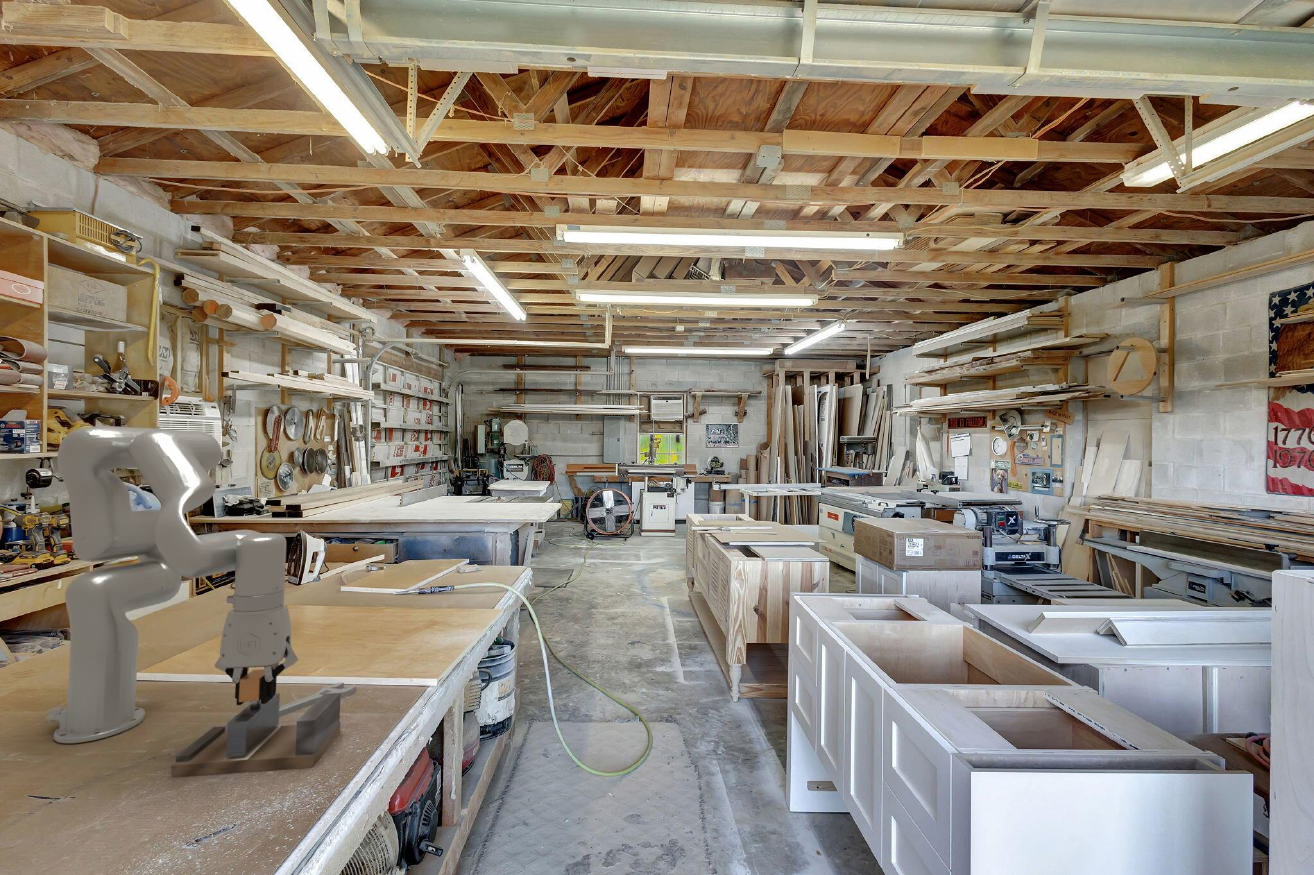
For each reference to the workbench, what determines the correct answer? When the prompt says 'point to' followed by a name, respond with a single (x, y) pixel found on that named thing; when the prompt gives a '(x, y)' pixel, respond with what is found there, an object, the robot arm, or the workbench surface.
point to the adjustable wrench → (315, 698)
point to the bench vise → (266, 745)
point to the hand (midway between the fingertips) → (255, 700)
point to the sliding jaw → (251, 716)
